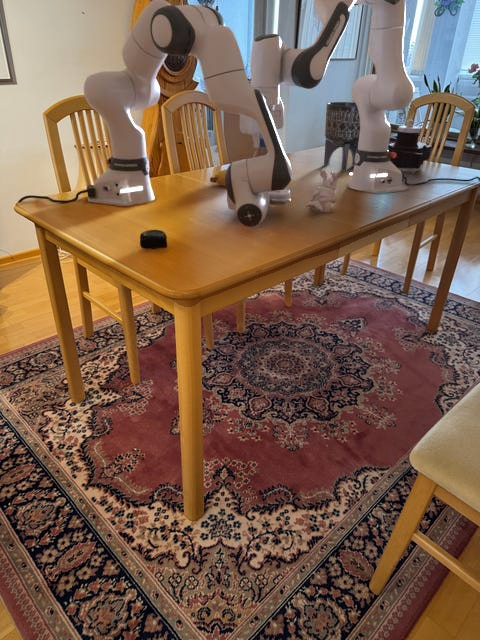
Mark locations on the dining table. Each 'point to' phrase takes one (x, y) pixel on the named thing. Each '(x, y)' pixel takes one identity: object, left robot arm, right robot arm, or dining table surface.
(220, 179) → the toy
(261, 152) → the bottle
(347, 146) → the planter
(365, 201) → the dining table surface
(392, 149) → the mechanical component
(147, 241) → the tape measure
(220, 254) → the dining table surface
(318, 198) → the figurine
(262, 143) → the cap
